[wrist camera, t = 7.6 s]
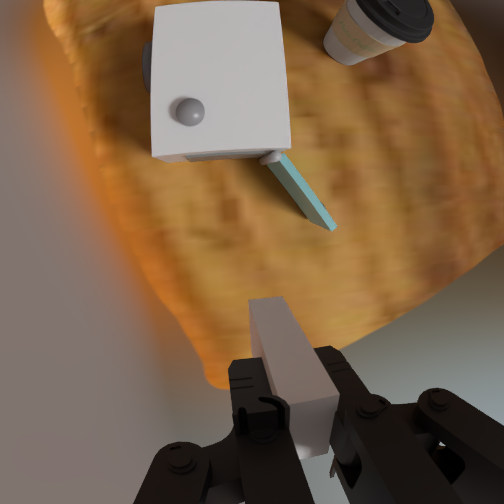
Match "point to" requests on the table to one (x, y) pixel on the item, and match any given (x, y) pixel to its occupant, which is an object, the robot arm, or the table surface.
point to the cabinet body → (217, 81)
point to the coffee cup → (376, 28)
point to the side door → (298, 189)
